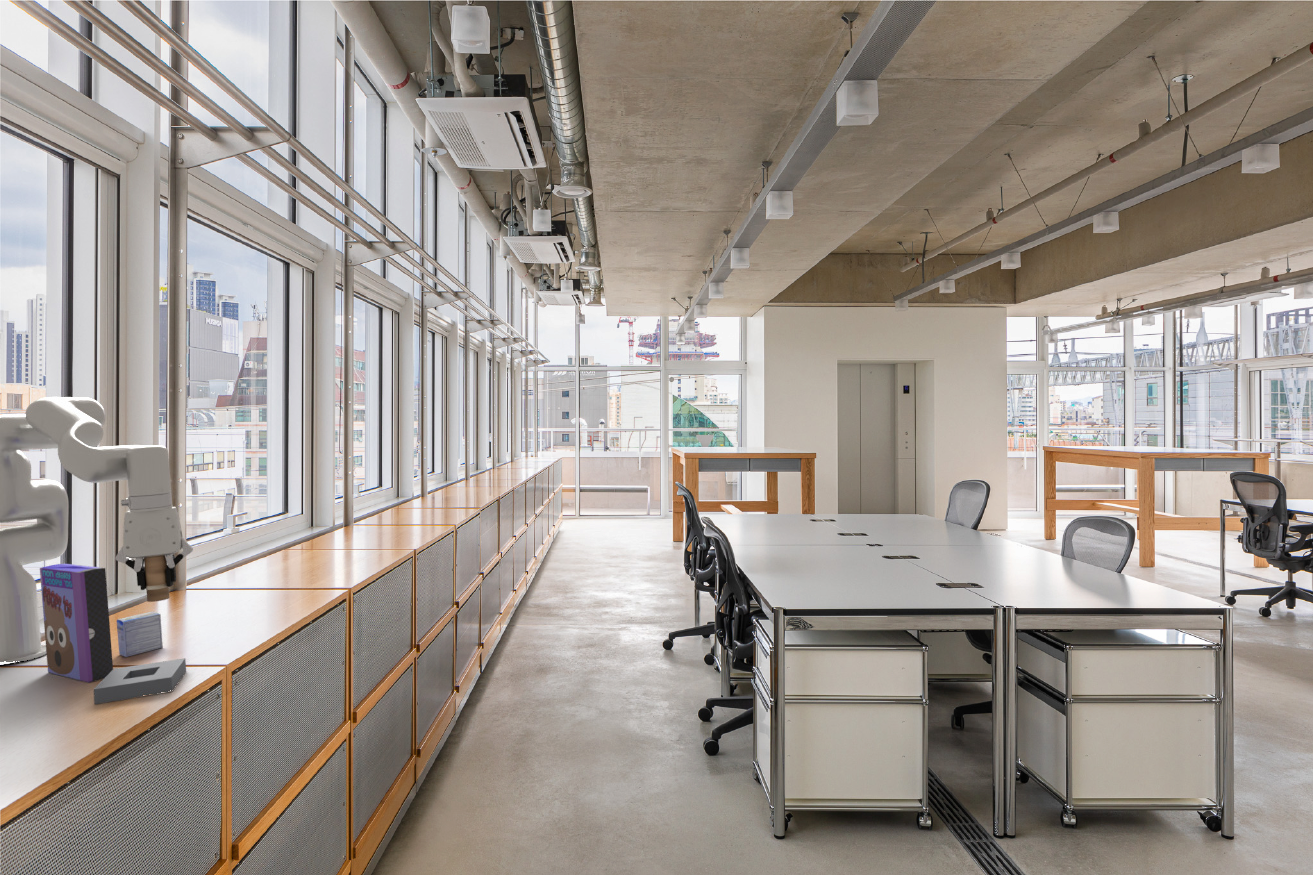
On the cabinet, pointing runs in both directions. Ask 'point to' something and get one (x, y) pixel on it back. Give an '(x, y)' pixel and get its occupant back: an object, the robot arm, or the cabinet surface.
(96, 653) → the cereal box
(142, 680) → the board
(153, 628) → the medicine box
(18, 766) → the cabinet surface
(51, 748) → the cabinet surface
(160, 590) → the peg
